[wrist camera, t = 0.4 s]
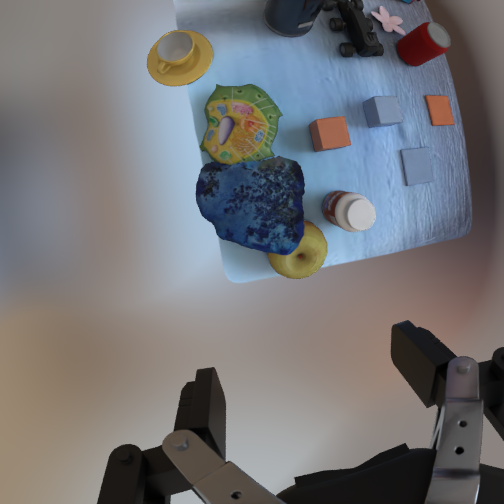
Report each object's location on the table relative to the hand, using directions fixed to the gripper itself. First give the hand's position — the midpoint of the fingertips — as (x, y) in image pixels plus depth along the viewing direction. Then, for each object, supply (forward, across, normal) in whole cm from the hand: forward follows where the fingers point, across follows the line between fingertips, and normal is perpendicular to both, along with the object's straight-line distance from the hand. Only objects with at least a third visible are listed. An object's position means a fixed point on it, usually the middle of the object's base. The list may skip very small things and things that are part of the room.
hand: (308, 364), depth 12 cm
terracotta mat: (+42, -43, -16) cm, 62 cm away
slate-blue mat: (+41, -34, -5) cm, 54 cm away
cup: (+42, +7, -32) cm, 53 cm away
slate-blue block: (+41, -27, -16) cm, 52 cm away
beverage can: (+42, -39, -29) cm, 64 cm away
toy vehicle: (+42, -26, -34) cm, 60 cm away
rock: (+30, -1, -4) cm, 30 cm away
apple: (+41, -6, +5) cm, 41 cm away
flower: (+42, -36, -37) cm, 67 cm away
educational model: (+36, +4, -10) cm, 38 cm away
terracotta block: (+41, -16, -12) cm, 46 cm away
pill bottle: (+41, -16, +1) cm, 44 cm away
